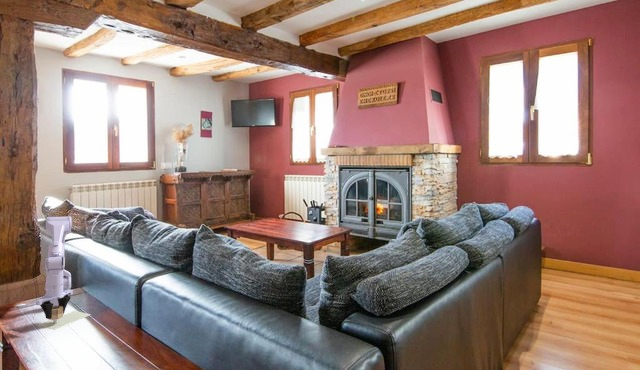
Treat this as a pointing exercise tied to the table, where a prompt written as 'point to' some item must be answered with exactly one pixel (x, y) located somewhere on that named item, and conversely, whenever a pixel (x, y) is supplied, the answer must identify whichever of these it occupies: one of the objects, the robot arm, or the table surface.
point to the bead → (57, 312)
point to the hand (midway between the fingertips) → (55, 315)
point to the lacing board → (64, 320)
